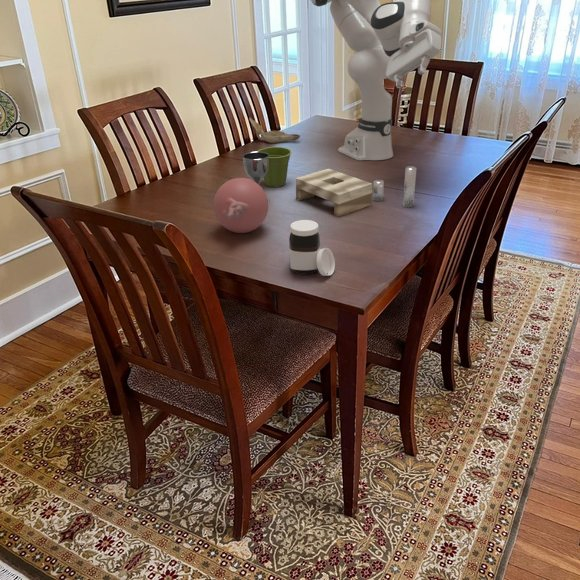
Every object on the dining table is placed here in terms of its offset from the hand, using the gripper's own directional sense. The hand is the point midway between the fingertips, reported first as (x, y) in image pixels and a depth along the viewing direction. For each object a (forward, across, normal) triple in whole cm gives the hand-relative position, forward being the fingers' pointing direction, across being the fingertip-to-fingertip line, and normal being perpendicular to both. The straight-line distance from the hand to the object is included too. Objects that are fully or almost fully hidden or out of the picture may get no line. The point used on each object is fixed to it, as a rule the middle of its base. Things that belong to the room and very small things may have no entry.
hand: (410, 80), depth 176 cm
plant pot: (+23, -49, -14) cm, 56 cm away
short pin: (+30, -20, +8) cm, 37 cm away
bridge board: (+33, -26, -5) cm, 43 cm away
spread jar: (+65, -1, -26) cm, 70 cm away
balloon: (+53, -27, -35) cm, 69 cm away
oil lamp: (-12, -84, +1) cm, 85 cm away
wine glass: (+35, -41, -24) cm, 59 cm away
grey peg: (+33, -11, +13) cm, 37 cm away
